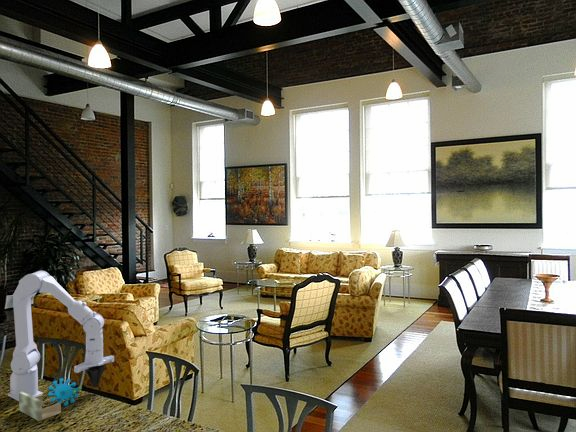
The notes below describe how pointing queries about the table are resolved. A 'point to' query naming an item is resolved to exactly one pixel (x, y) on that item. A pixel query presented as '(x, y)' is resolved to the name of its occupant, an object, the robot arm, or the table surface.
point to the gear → (64, 391)
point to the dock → (36, 407)
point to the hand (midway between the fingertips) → (95, 386)
